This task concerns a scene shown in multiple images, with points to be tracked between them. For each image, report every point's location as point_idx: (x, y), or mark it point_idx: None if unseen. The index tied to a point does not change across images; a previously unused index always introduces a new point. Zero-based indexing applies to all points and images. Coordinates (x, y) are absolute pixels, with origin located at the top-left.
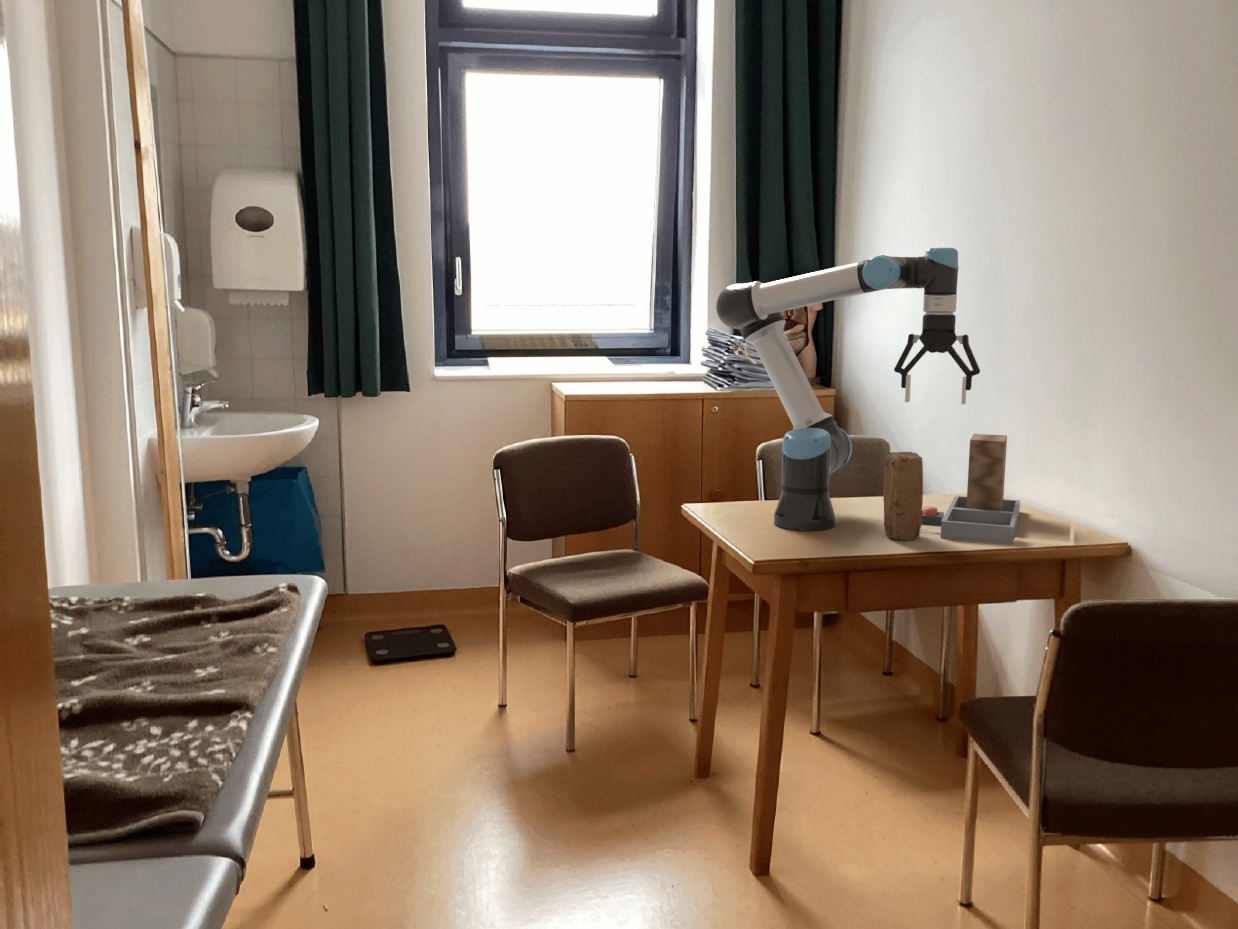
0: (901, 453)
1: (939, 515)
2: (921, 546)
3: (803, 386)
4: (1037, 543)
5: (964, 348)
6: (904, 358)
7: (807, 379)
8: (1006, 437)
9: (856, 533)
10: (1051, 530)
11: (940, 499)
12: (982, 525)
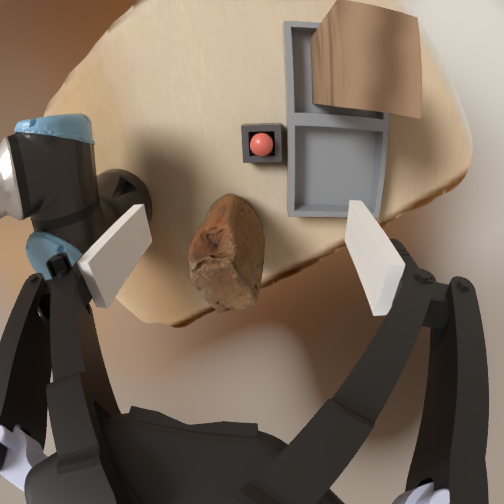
0: (213, 282)
1: (277, 151)
2: (270, 254)
3: None
4: (398, 195)
5: (414, 462)
6: (50, 364)
7: None
8: (418, 37)
9: (185, 223)
10: (418, 120)
11: None
12: (341, 216)
